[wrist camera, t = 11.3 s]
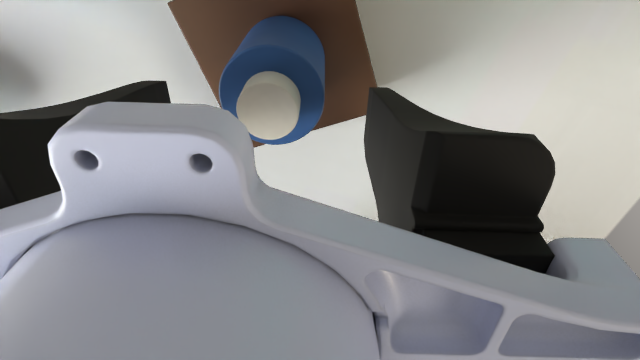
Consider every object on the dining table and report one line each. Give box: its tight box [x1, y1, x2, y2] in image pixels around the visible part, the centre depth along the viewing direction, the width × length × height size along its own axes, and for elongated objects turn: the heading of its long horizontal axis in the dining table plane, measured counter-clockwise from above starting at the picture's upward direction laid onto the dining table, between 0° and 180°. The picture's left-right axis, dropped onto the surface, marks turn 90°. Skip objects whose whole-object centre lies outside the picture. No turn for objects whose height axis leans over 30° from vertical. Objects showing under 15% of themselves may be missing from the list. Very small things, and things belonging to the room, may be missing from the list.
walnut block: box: [168, 0, 377, 148], centre depth 19 cm, size 8×8×3 cm
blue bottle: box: [219, 16, 325, 145], centre depth 16 cm, size 4×4×6 cm
